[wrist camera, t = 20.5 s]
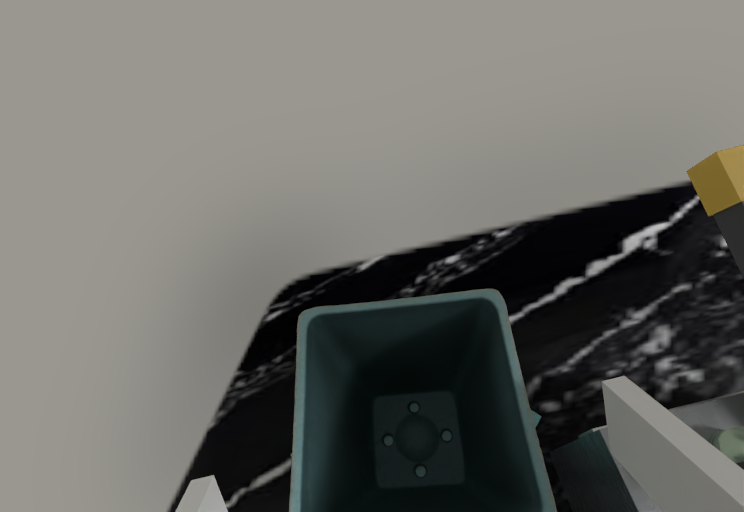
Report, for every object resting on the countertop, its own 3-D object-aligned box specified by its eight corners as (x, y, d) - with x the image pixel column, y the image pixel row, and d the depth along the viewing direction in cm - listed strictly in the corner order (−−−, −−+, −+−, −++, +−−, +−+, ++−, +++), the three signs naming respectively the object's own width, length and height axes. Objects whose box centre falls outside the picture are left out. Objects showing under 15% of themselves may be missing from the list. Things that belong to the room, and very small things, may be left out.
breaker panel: (834, 533, 19) (1089, 550, 12) (604, 591, 19) (714, 647, 12) (742, 398, 22) (897, 345, 15) (546, 448, 22) (603, 419, 15)
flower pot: (336, 366, 26) (296, 306, 18) (480, 352, 25) (502, 284, 17) (339, 537, 21) (285, 555, 13) (515, 526, 20) (565, 538, 13)
